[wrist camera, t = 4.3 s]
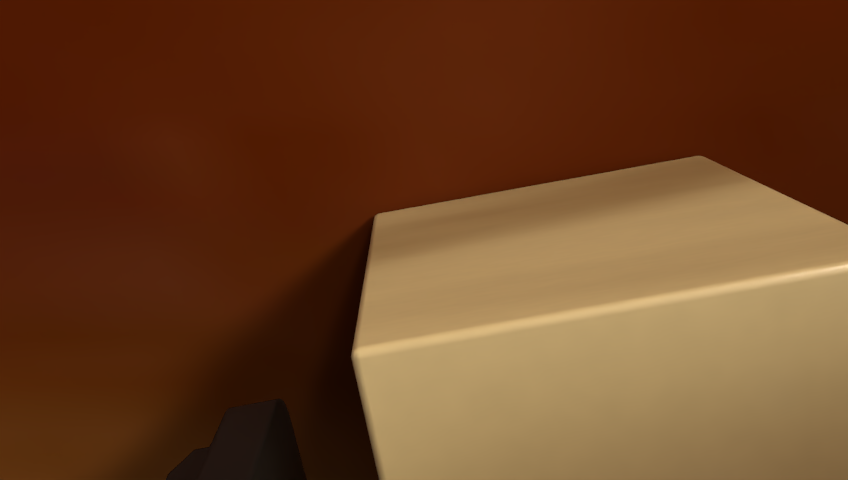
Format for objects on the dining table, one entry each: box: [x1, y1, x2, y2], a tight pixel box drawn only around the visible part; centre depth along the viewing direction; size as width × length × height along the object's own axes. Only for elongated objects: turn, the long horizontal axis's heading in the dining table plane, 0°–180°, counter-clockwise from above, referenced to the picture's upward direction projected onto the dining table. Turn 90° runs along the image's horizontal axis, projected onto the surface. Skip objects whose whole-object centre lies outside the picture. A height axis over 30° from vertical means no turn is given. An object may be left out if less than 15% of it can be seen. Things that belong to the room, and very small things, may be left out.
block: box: [351, 156, 848, 480], centre depth 10 cm, size 5×5×5 cm
